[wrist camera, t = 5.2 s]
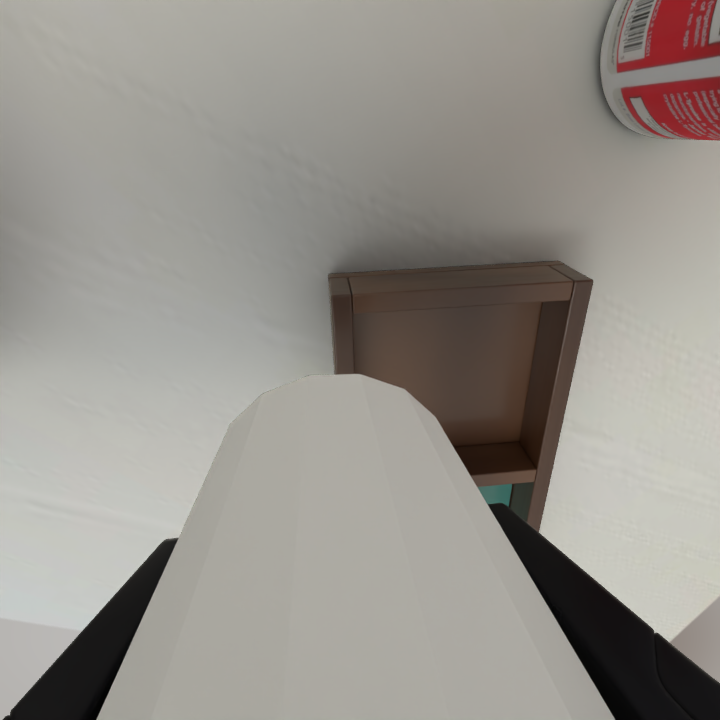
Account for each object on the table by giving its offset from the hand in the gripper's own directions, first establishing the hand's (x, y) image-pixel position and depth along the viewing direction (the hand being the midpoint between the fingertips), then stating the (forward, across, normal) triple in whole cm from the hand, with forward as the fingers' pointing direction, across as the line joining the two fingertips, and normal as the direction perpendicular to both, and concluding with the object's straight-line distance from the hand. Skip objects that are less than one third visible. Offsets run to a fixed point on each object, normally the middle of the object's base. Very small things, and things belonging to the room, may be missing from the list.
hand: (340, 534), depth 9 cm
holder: (+12, -5, +8) cm, 15 cm away
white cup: (+2, 0, 0) cm, 2 cm away
